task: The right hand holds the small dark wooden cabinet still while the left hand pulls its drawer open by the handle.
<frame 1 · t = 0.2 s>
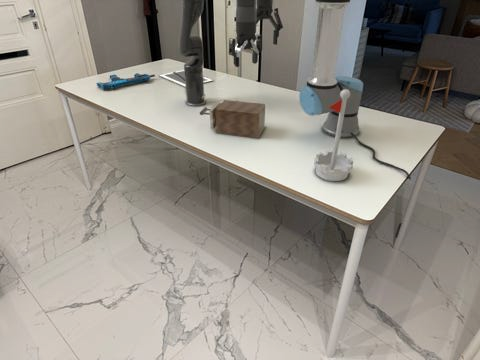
left hand: (245, 64, 133), 29 cm above the table, tool pointing down, fingers open, 8 cm apart
right hand: (263, 45, 167), 28 cm above the table, tool pointing down, fingers open, 13 cm apart
tablet: (185, 78, 216), on the table
submachine gun: (125, 82, 210), on the table
cabinet: (240, 130, 151), on the table
flag stand: (331, 173, 120), on the table
drawer: (226, 117, 149), point 5 cm above the table, slide at 1.7 cm
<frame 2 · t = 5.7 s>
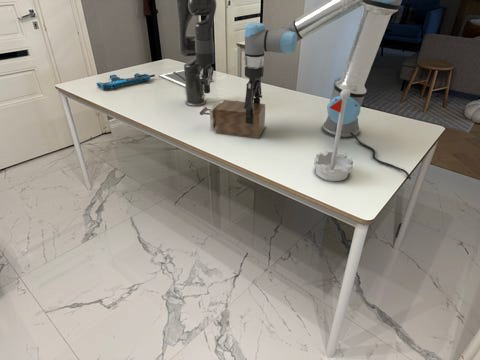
left hand: (207, 92, 146), 16 cm above the table, tool pointing down, fingers closed
right hand: (253, 117, 146), 7 cm above the table, tool pointing down, fingers closed on cabinet, 12 cm apart
cabinet: (240, 130, 151), on the table, touching right hand
everything else where it was.
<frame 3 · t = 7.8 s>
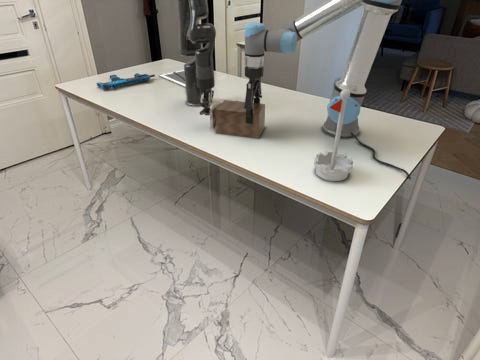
left hand: (207, 114, 151), 5 cm above the table, tool pointing down, fingers closed
right hand: (253, 117, 146), 7 cm above the table, tool pointing down, fingers closed on cabinet, 12 cm apart
cabinet: (240, 130, 151), on the table, touching right hand
drawer: (226, 117, 149), point 5 cm above the table, slide at 1.8 cm, touching left hand
everything else where it was.
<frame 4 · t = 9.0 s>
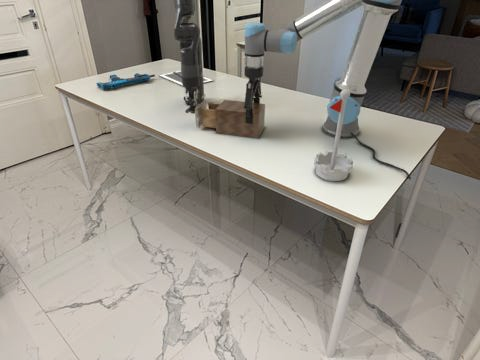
left hand: (193, 112, 153), 6 cm above the table, tool pointing down, fingers closed
right hand: (252, 117, 146), 7 cm above the table, tool pointing down, fingers closed on cabinet, 12 cm apart
cabinet: (240, 130, 151), on the table, touching right hand
drawer: (212, 115, 151), point 6 cm above the table, slide at 8.4 cm, touching left hand
everything else where it was.
when the right hand's fingers open (7 cm above the table, at t = 10.9 s): cabinet stays where it is, on the table.
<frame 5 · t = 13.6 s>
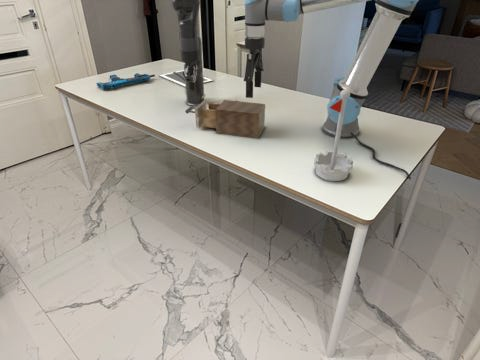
left hand: (193, 90, 147), 16 cm above the table, tool pointing down, fingers closed
right hand: (253, 92, 140), 18 cm above the table, tool pointing down, fingers open, 13 cm apart
cabinet: (240, 130, 151), on the table
drawer: (212, 115, 151), point 5 cm above the table, slide at 8.4 cm
everything else where it was.
at the end: drawer slide at 8.4 cm; cabinet tilted 0°; cabinet never tilted more than 1° during the clip; cabinet moved 0.1 cm from its start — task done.
